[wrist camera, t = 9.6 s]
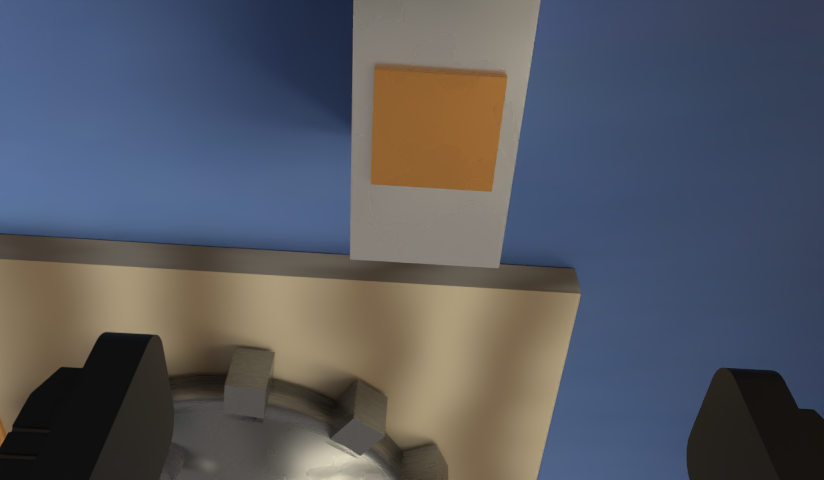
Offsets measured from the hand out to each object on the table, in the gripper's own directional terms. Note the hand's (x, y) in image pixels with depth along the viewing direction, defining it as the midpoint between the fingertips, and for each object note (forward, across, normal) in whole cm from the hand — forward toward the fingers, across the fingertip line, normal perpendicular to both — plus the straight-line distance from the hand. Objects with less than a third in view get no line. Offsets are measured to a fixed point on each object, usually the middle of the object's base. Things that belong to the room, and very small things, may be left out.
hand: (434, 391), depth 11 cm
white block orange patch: (+15, 0, 0) cm, 16 cm away
